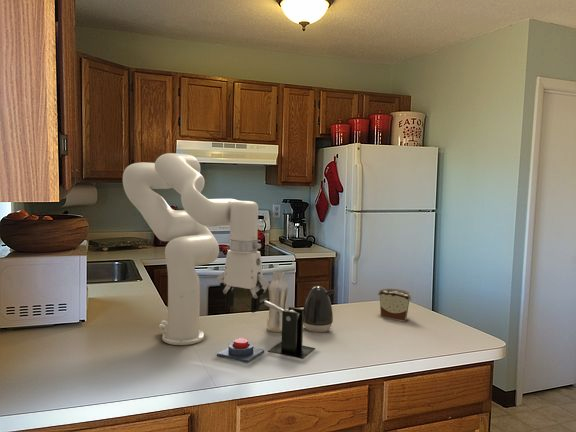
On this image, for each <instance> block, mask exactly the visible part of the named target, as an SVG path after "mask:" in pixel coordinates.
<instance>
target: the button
mask: <svg viewBox="0 0 576 432" xmlns="http://www.w3.org/2000/svg"><path fill="white" fill-rule="evenodd" d="M233 342H234V347H235V348H247V347H248V342H249V339H248V338H245V337H238V338H235V339H233Z"/></svg>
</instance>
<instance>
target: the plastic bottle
mask: <svg viewBox="0 0 576 432" xmlns="http://www.w3.org/2000/svg"><path fill="white" fill-rule="evenodd" d="M285 277H286V276H285V271H283V270H273V271H272V278H273V279H272V280H271V282H269V283H270V286H269V287H268V289H267V290H268V298H269V299H270V301H269V302H270V303H272V304H274V305H276V306H279V307H281V308H283V309H285V310H287V300H288V293H289V285H288V284H287V282H286V280H285ZM268 309H269V310H268V316H267V320H266V321H267V322H266V328H267V330H268V332H271V333H282V313H280V312H278V311H276V310H274V309H272V308H270V307H268Z"/></svg>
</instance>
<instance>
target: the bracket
mask: <svg viewBox="0 0 576 432" xmlns="http://www.w3.org/2000/svg"><path fill="white" fill-rule="evenodd" d="M286 310H287V309H286ZM286 310H283V311H282V332H281V341H280V342H279V343H277V344H275V345H274V346H272V347H271V348H269V349H268V350H267V352H269V353H271V354H277V355H282V356H287V357H291V358H296V359H301V360H304V359H305V358H306V357H307V356H308V355H310V354H311V353H312V352H313V351H315V350H316V347H312V346H307V345H303V336H304V324H303V313H304V308H301V307H300V308H299V307H293V306H289V307H288V310H287V311H286ZM290 310H294V311H296V312H292V311H290ZM298 313H300V315H299V318H298Z"/></svg>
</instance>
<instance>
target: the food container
mask: <svg viewBox="0 0 576 432" xmlns="http://www.w3.org/2000/svg"><path fill="white" fill-rule="evenodd" d="M377 295H378V296H379V308H380V309H379V312H380V317H381V318H384V319H390V320H395V321H398V322H399V321H400V322H404V323H405V322H407V318H408V313H409V306H410V302H411V301H412V294H411V292H409V291H407V290H405V289H399V288H381V289H379V290H378V294H377Z"/></svg>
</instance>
